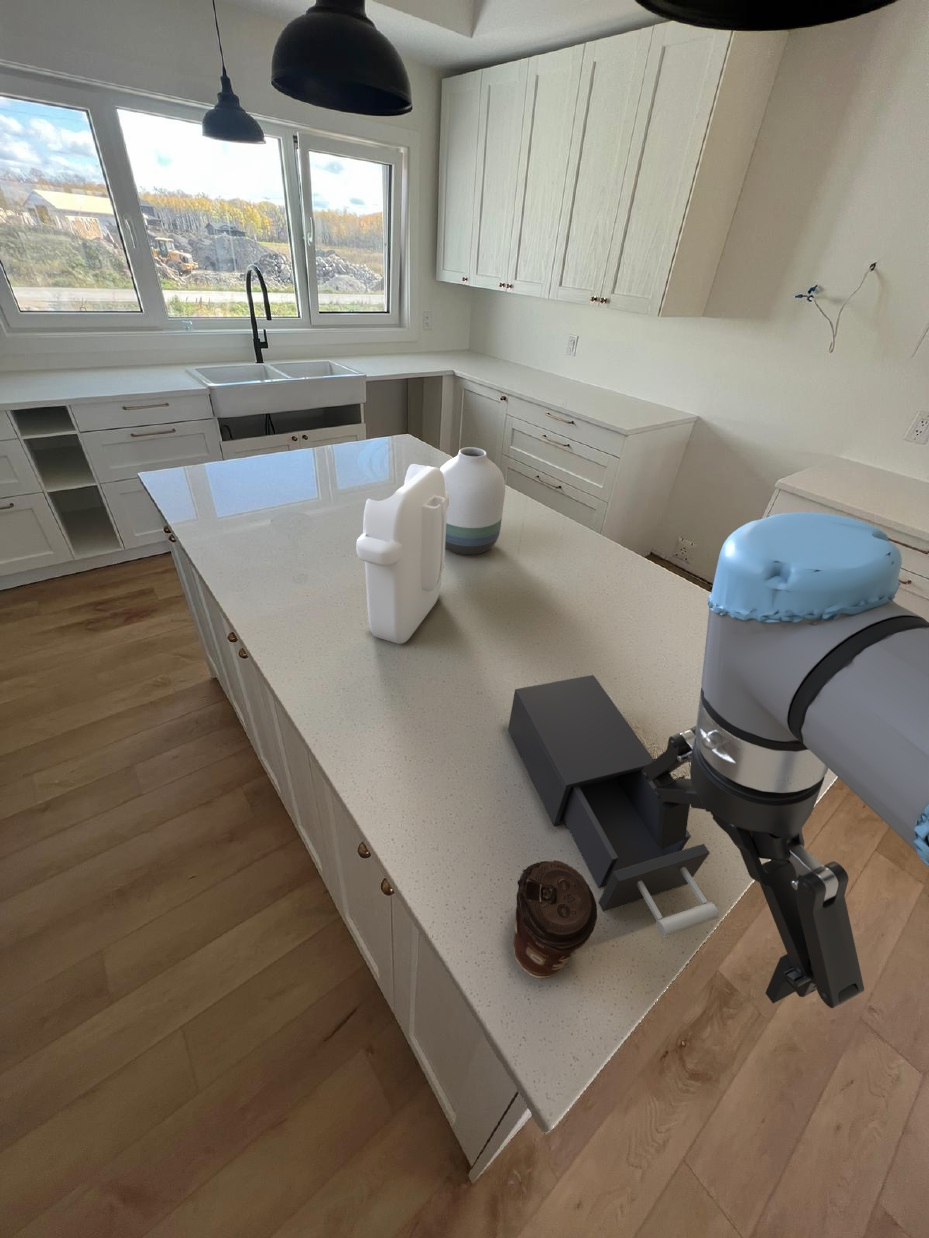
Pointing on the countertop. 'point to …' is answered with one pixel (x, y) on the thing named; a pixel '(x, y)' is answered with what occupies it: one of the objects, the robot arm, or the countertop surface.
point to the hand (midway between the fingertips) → (720, 907)
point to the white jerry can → (404, 553)
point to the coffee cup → (551, 917)
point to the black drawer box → (572, 738)
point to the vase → (473, 501)
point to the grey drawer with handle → (633, 848)
